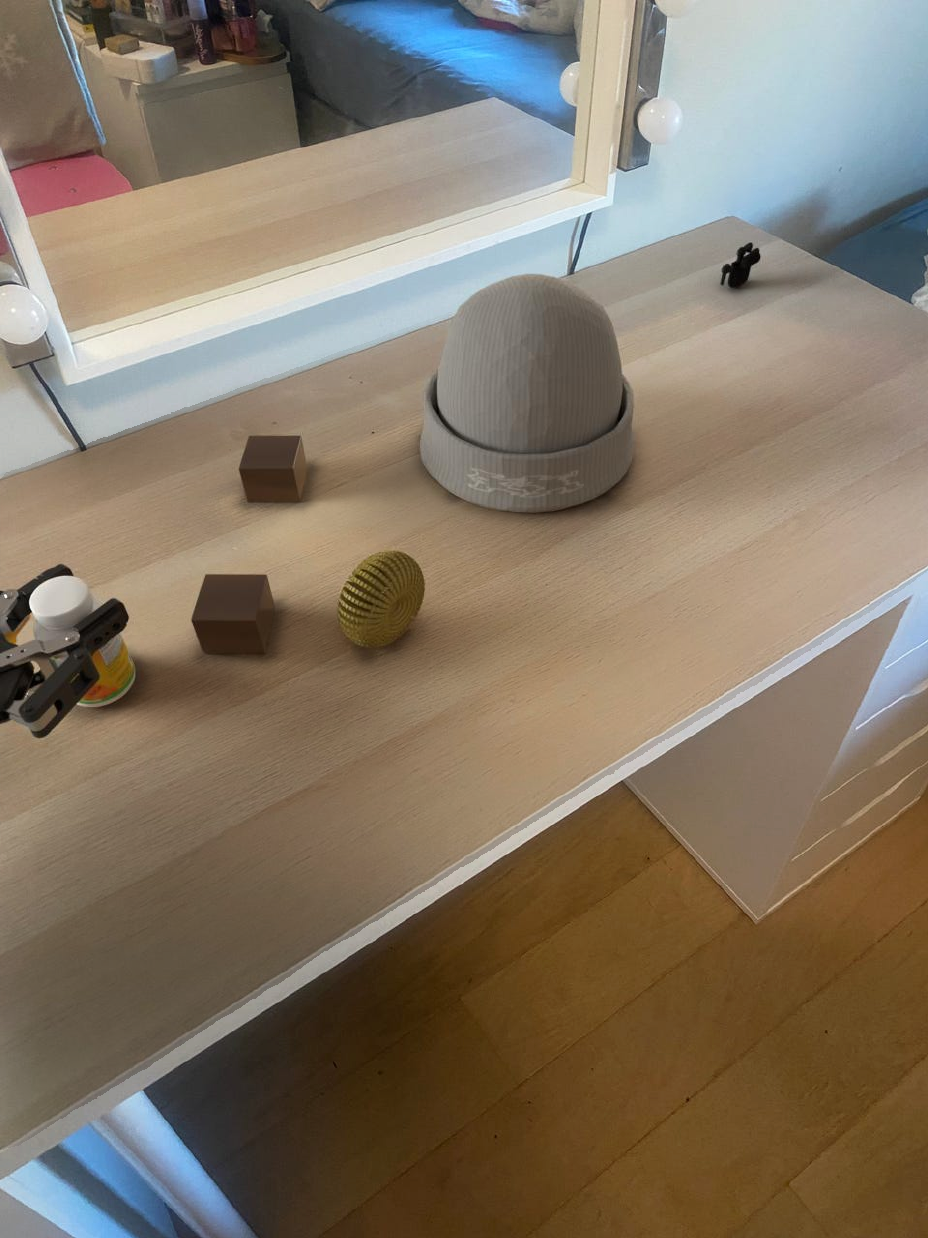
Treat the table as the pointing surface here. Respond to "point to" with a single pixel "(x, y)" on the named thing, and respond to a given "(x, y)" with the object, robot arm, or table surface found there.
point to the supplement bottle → (61, 610)
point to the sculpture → (381, 599)
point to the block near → (234, 613)
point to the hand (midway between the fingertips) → (95, 591)
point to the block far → (273, 468)
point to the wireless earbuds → (740, 266)
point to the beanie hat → (529, 399)
